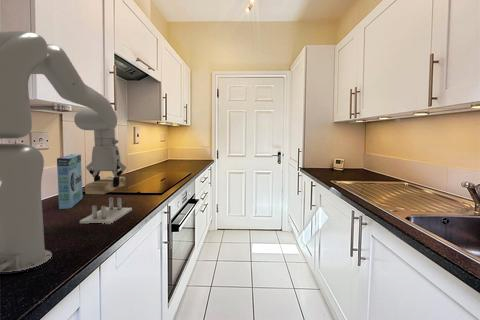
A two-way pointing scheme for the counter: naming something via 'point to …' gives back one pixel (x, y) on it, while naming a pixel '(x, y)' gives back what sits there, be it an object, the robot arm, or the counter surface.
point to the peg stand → (106, 213)
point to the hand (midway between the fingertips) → (107, 186)
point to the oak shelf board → (103, 186)
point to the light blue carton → (69, 180)
